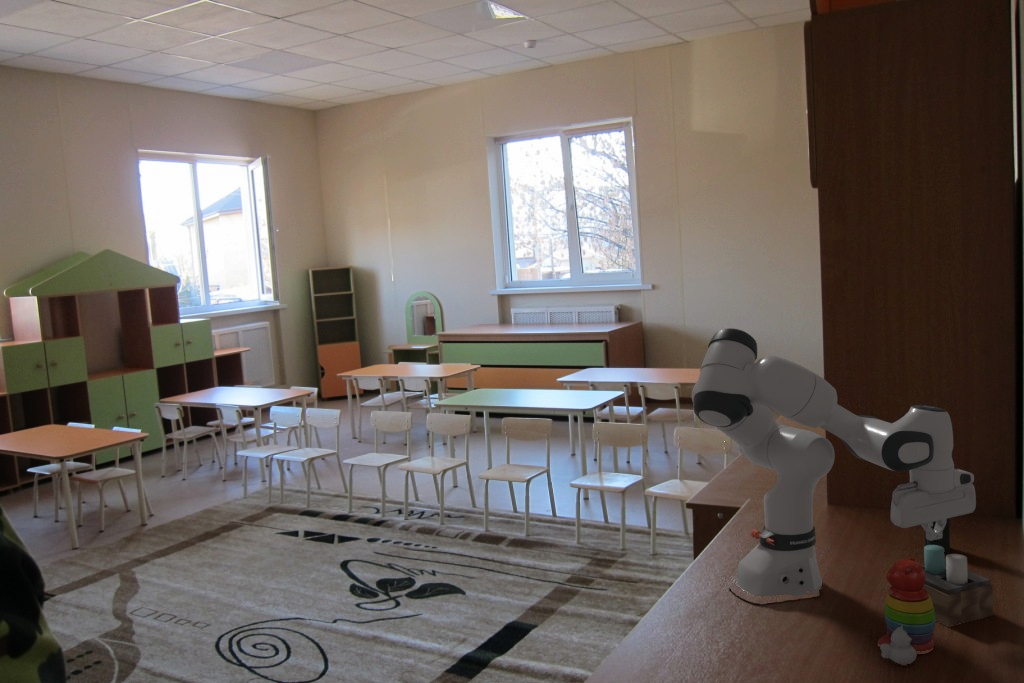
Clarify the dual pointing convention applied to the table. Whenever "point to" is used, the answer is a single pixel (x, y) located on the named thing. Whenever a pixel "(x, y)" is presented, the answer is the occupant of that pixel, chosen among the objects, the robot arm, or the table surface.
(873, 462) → the robot arm
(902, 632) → the rubber duck
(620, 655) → the table surface
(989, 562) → the table surface
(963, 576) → the grey peg
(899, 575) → the stacking bear
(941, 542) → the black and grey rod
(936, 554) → the teal peg
